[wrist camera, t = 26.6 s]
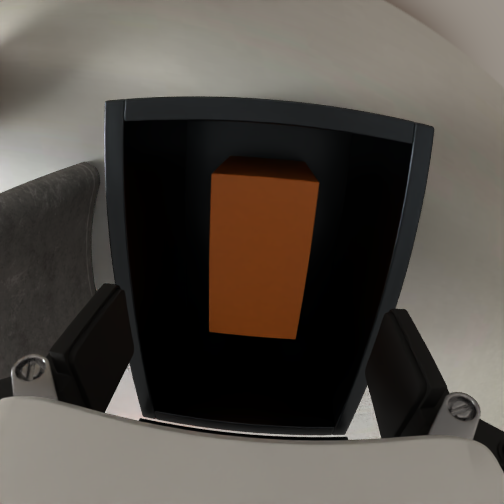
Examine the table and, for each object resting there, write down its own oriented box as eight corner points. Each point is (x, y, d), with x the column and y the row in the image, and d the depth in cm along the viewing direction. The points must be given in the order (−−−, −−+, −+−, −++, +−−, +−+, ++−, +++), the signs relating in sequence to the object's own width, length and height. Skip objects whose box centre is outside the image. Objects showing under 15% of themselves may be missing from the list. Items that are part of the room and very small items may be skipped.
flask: (68, 305, 28) (-37, 438, 12) (65, 159, 22) (-125, 243, 6) (99, 315, 28) (0, 463, 12) (101, 164, 23) (-99, 263, 6)
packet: (224, 276, 25) (208, 332, 18) (229, 155, 21) (211, 173, 15) (290, 281, 25) (295, 340, 18) (305, 161, 21) (319, 182, 15)
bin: (178, 105, 21) (104, 100, 11) (363, 119, 20) (435, 127, 10) (180, 321, 28) (142, 416, 18) (326, 333, 27) (345, 435, 17)
